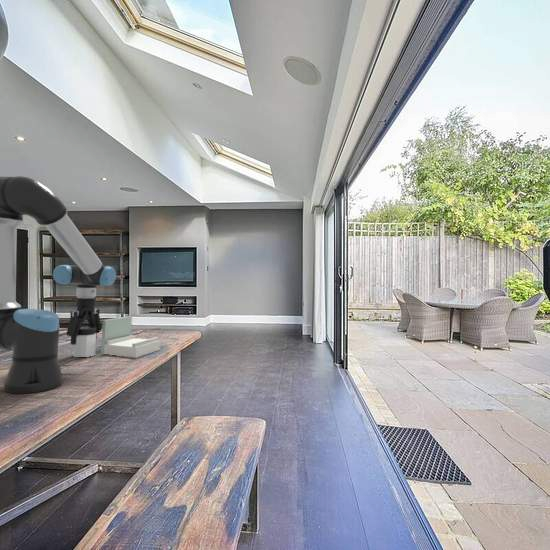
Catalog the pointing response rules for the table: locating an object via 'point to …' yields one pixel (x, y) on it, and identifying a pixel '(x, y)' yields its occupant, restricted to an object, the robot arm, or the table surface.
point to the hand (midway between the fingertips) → (84, 349)
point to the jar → (86, 342)
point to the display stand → (125, 339)
